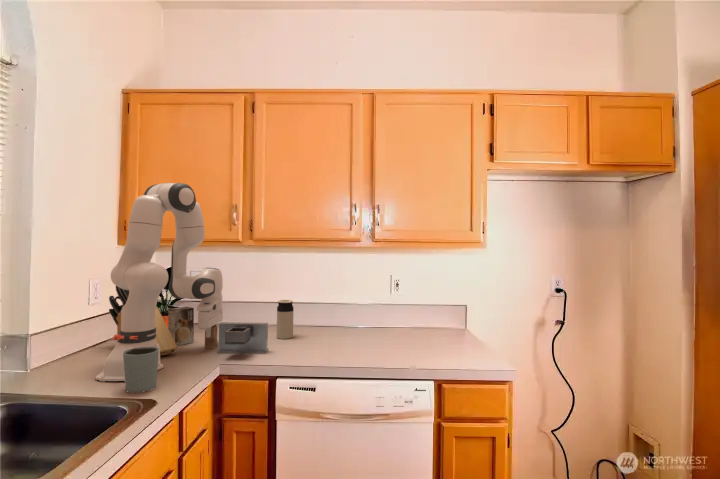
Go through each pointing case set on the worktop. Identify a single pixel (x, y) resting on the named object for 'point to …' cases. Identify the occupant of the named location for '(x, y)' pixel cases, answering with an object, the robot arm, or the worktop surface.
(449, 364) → the worktop surface
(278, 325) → the travel mug
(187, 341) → the coffee box
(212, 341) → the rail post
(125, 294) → the knife block
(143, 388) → the grey-green planter pot
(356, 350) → the worktop surface
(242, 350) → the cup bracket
